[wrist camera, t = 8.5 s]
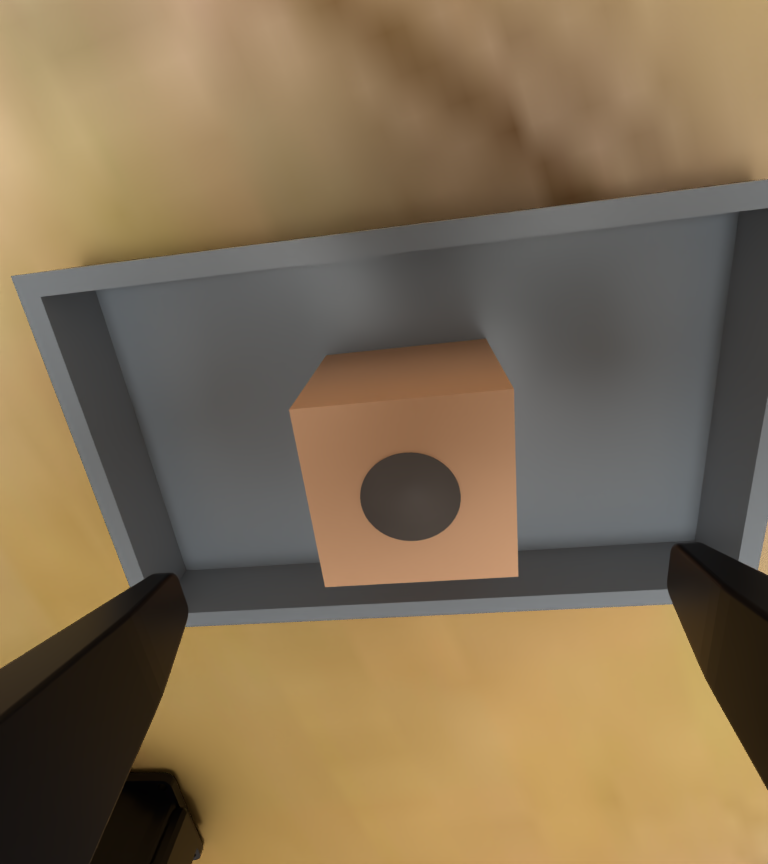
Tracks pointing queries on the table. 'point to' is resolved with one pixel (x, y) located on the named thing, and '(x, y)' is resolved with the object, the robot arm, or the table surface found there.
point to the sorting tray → (423, 325)
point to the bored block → (410, 464)
